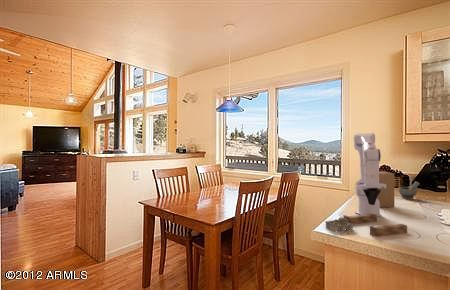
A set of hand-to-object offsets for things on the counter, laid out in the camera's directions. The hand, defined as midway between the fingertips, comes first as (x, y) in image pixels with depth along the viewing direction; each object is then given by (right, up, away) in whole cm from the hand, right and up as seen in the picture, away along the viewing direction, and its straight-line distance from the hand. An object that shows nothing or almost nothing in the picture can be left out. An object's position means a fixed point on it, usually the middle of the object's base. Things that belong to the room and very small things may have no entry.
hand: (371, 204), depth 105 cm
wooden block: (+26, -9, +32) cm, 42 cm away
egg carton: (-17, -10, -5) cm, 20 cm away
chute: (-2, -9, -4) cm, 10 cm away
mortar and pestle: (+55, -9, +47) cm, 73 cm away
